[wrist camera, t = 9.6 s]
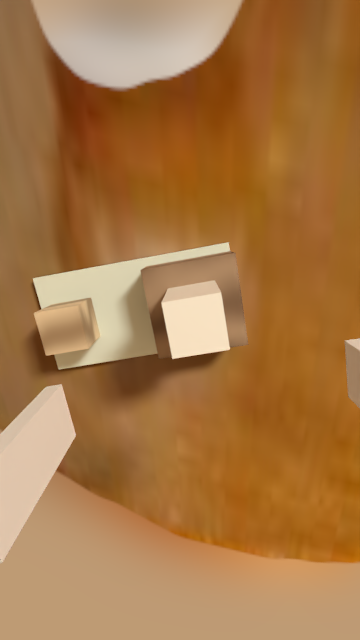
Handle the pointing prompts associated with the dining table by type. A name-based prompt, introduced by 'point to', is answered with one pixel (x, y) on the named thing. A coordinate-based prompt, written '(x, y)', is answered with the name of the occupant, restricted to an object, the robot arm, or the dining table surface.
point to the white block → (195, 319)
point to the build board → (112, 305)
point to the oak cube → (67, 326)
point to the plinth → (194, 272)
